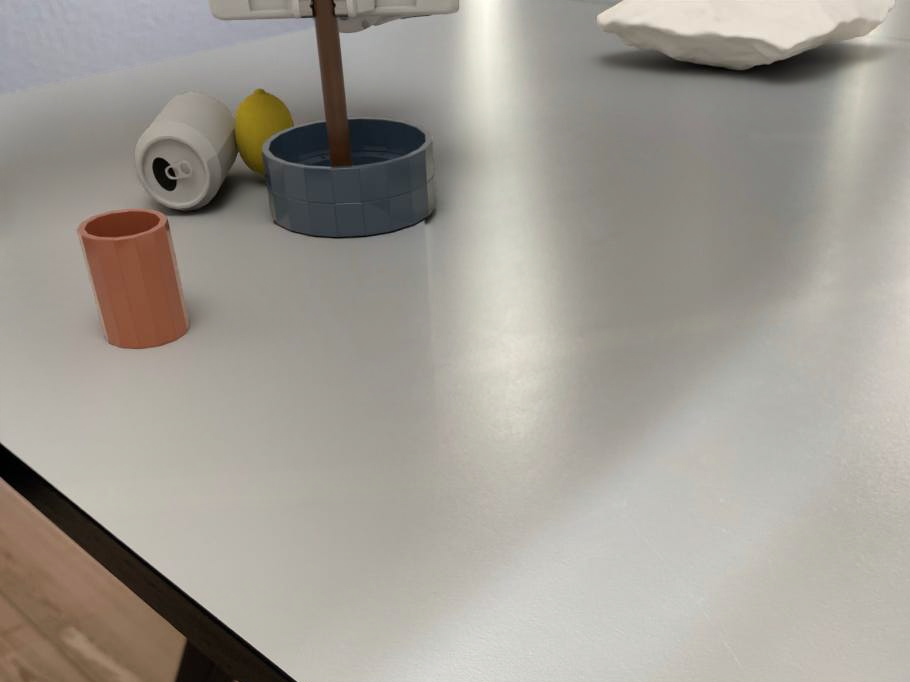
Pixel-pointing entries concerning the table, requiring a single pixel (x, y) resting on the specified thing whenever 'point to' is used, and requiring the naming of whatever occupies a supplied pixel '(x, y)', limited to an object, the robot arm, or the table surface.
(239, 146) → the lemon
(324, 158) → the bowl
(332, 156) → the stick
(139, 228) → the holder
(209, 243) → the table surface
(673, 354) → the table surface
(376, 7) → the robot arm
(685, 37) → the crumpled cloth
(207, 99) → the can
